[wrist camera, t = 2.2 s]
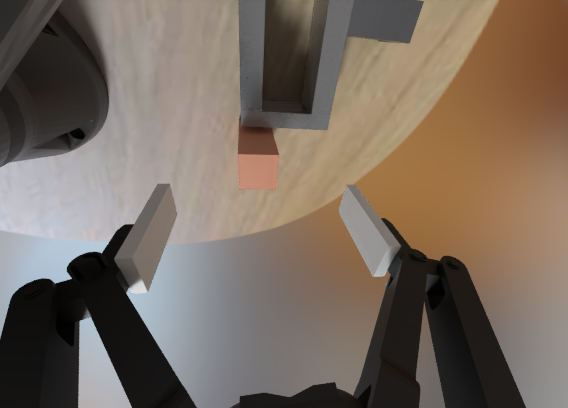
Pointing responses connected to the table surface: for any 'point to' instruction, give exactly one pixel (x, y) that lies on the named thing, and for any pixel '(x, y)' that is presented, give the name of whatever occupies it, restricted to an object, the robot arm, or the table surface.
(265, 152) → the terracotta clay brick
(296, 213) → the table surface
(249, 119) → the hollow metal rectangle ring
